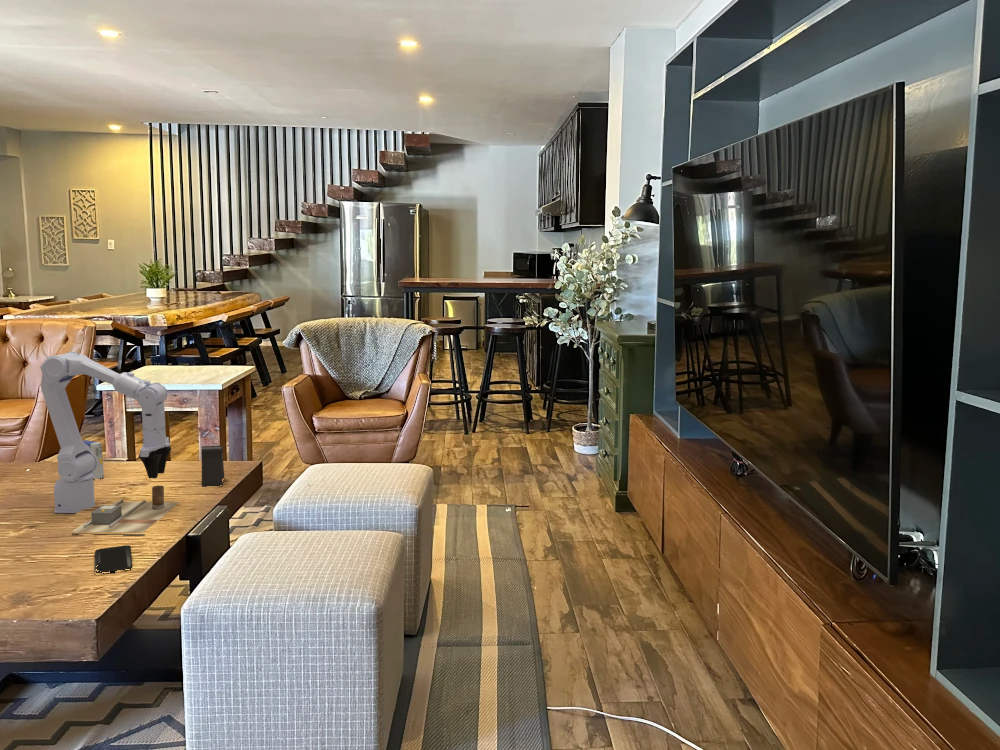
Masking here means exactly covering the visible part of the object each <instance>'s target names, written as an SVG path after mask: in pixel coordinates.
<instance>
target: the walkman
mask: <svg viewBox="0 0 1000 750" xmlns="http://www.w3.org/2000/svg"><path fill="white" fill-rule="evenodd" d="M82 442H83V443H85V444H86V445H88V446H89V447H90V450H91V452H92V453H93V454H94V455H95V456H96V458H97V462H98V464H97V467H96V469H95V470H94V471H93V473H94V475H93V479H99V478H103V477H104V478H105V471H104V458H103V457H104V456H103V446H102V444H103V443H102V442H99V441H93V440H85V439H84V440H83V439H82ZM104 478H103V479H104ZM99 480H100V479H99Z"/></svg>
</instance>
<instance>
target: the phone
mask: <svg viewBox="0 0 1000 750" xmlns="http://www.w3.org/2000/svg"><path fill="white" fill-rule="evenodd" d="M94 558H95V560H94V569H93V570H94V571H93V572H96V573H102V572H109V571H114V572H115V571H117V570H125V569H131V568H132V567H133V557H132V546H131V545H128V544H125V545H118V546H112V547H111V546H110V547H105V548H97V549H95V550H94ZM97 565H98V566H97ZM96 566H97V567H96ZM96 569H97V570H99V571H98V572H97V571H95V570H96ZM100 571H101V572H100Z"/></svg>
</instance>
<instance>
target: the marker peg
mask: <svg viewBox="0 0 1000 750" xmlns="http://www.w3.org/2000/svg"><path fill="white" fill-rule="evenodd" d="M151 498H152V499H151V502H152V509H154V510H159V509H163V508H164V502H165V486H164V485H153V486H152V487H151Z"/></svg>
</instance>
